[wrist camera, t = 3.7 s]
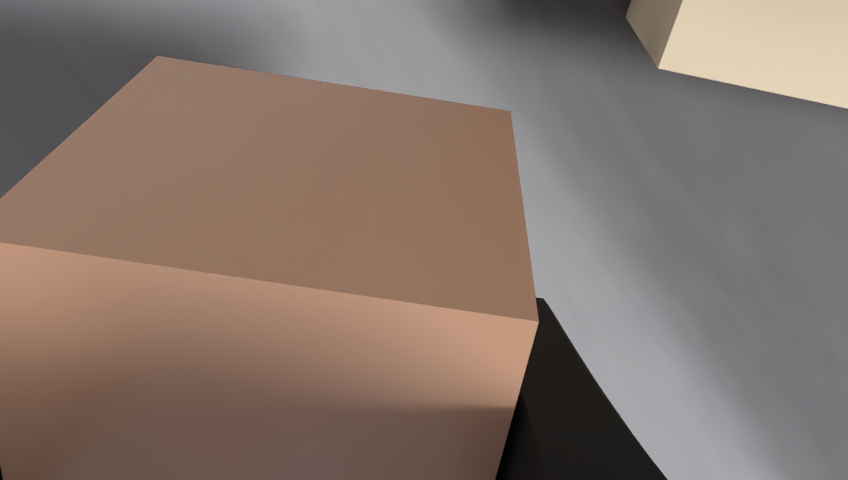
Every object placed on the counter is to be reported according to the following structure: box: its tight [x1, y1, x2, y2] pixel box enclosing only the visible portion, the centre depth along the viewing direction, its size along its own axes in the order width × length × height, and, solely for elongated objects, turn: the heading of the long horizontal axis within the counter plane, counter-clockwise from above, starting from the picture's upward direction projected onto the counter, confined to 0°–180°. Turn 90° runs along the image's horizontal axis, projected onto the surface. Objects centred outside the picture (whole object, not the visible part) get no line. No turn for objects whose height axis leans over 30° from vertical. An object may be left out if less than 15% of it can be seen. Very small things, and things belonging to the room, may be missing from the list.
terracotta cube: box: [0, 56, 539, 480], centre depth 9 cm, size 4×4×4 cm
